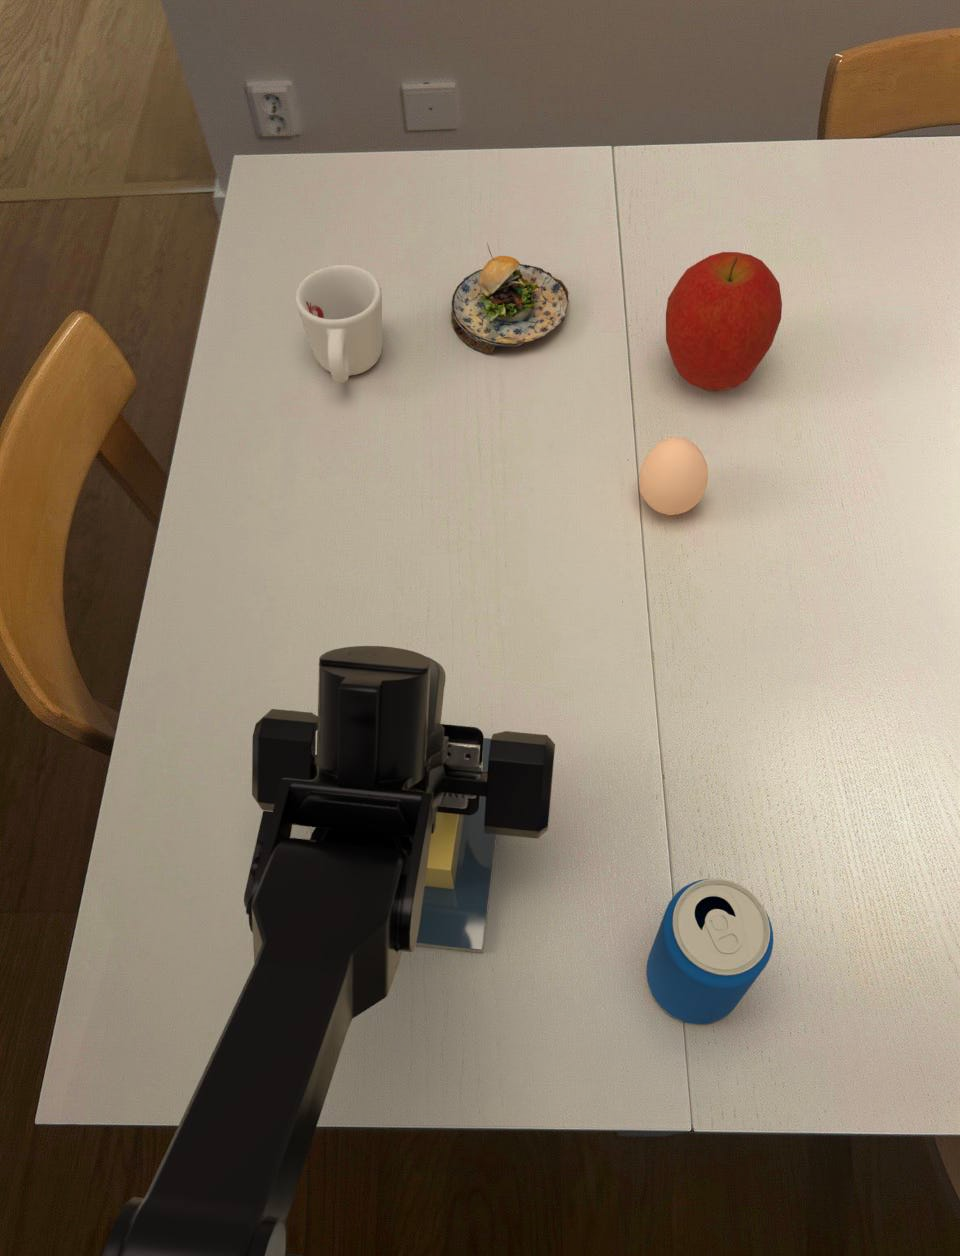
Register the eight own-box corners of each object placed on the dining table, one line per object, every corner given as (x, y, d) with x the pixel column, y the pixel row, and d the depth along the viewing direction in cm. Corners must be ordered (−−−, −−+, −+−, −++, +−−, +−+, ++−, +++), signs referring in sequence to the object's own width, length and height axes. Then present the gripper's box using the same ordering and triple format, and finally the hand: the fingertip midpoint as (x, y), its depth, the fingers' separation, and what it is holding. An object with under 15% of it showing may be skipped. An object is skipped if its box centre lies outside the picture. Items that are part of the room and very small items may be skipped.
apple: (740, 329, 105) (767, 207, 93) (783, 400, 100) (817, 280, 88) (641, 352, 104) (656, 231, 92) (679, 425, 98) (700, 307, 87)
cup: (386, 407, 101) (376, 343, 94) (302, 408, 101) (286, 345, 94) (392, 328, 106) (383, 262, 100) (313, 329, 107) (299, 264, 100)
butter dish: (482, 953, 73) (480, 933, 69) (326, 935, 74) (315, 914, 70) (507, 744, 82) (506, 715, 78) (367, 731, 83) (359, 701, 79)
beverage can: (714, 915, 74) (744, 856, 64) (759, 1005, 71) (798, 957, 61) (629, 949, 73) (646, 894, 63) (671, 1042, 70) (696, 999, 60)
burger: (488, 374, 103) (486, 313, 96) (429, 303, 108) (424, 242, 102) (592, 327, 106) (597, 265, 99) (529, 261, 111) (530, 198, 105)
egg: (646, 472, 95) (654, 412, 89) (708, 488, 94) (722, 429, 88) (627, 520, 93) (635, 462, 86) (692, 537, 91) (704, 480, 85)
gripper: (556, 699, 57) (566, 630, 72) (218, 668, 58) (297, 607, 74) (541, 888, 59) (553, 783, 74) (218, 853, 61) (294, 758, 76)
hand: (424, 729), depth 75 cm, fingers closed on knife, 2 cm apart
